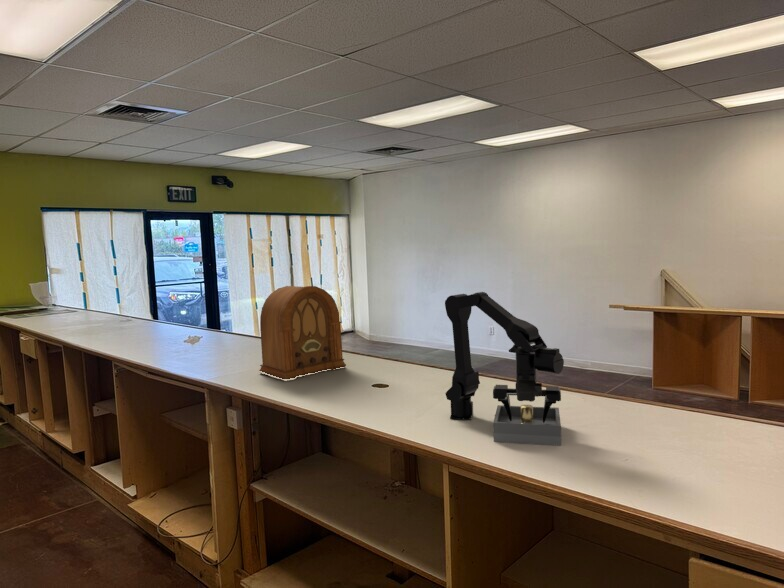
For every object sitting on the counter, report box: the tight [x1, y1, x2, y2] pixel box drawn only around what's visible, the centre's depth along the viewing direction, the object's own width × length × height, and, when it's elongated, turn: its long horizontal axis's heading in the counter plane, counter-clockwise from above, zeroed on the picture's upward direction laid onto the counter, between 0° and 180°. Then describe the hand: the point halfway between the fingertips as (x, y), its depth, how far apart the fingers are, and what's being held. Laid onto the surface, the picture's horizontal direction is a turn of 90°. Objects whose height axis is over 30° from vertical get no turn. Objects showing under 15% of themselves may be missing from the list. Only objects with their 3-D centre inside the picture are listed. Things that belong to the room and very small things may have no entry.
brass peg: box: [520, 404, 534, 423], centre depth 150 cm, size 3×3×8 cm
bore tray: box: [492, 404, 562, 446], centre depth 150 cm, size 18×16×6 cm
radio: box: [258, 285, 347, 379], centre depth 240 cm, size 33×23×40 cm
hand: (527, 421), depth 150 cm, fingers open, 9 cm apart
